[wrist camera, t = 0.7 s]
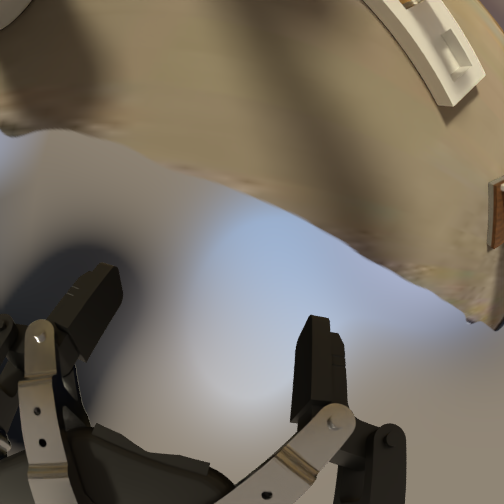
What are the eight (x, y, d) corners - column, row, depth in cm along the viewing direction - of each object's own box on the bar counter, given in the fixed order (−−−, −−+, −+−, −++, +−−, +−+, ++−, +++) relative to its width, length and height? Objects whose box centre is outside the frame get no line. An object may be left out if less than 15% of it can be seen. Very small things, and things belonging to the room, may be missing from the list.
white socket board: (336, -26, 16) (345, -36, 14) (384, -43, 14) (395, -52, 11) (437, 105, 24) (453, 106, 21) (471, 74, 22) (485, 74, 19)
